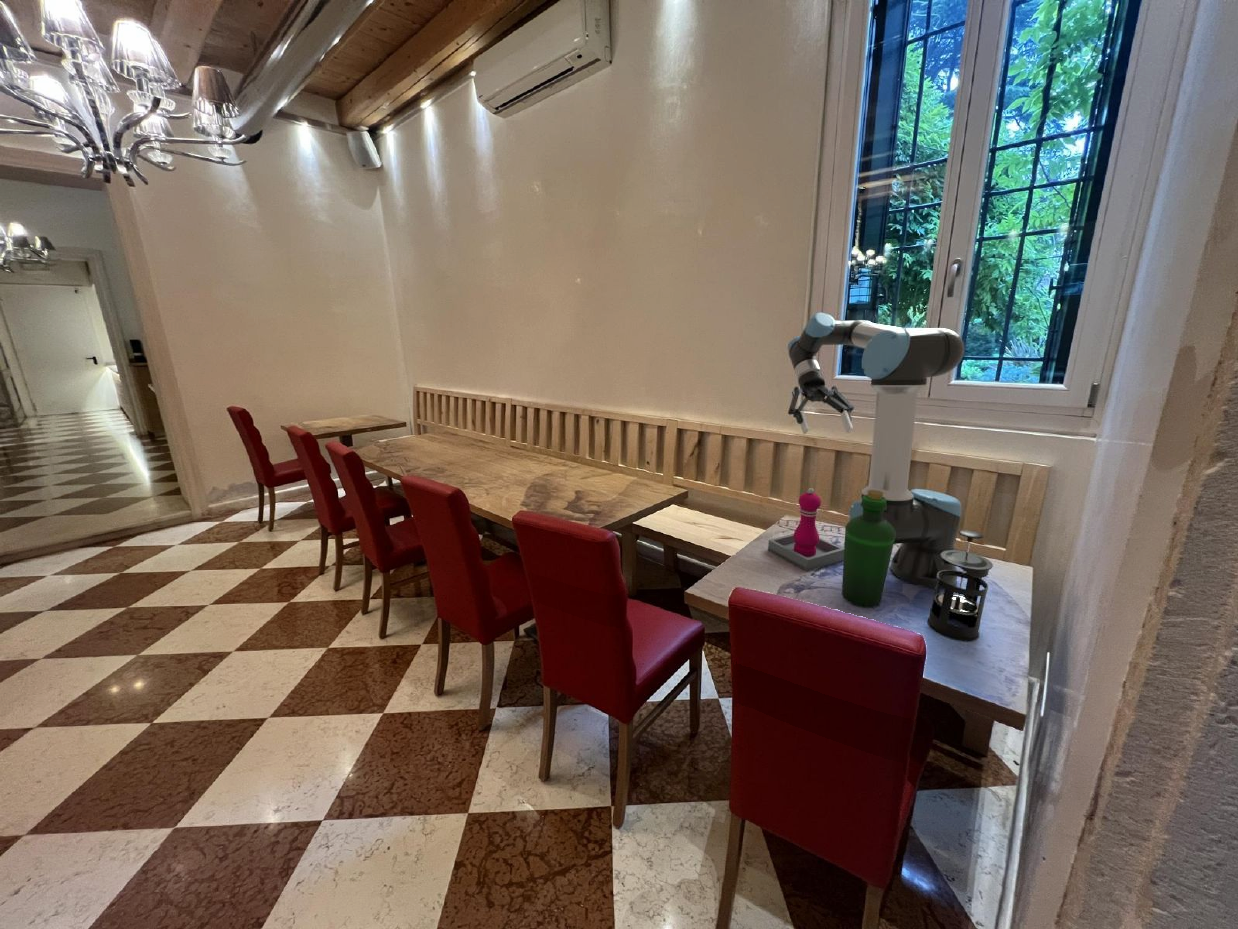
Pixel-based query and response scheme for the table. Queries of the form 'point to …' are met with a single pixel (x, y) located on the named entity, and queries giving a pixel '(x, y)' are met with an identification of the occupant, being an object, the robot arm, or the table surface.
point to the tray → (824, 556)
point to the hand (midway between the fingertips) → (828, 431)
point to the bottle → (867, 552)
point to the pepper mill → (807, 524)
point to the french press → (958, 605)
